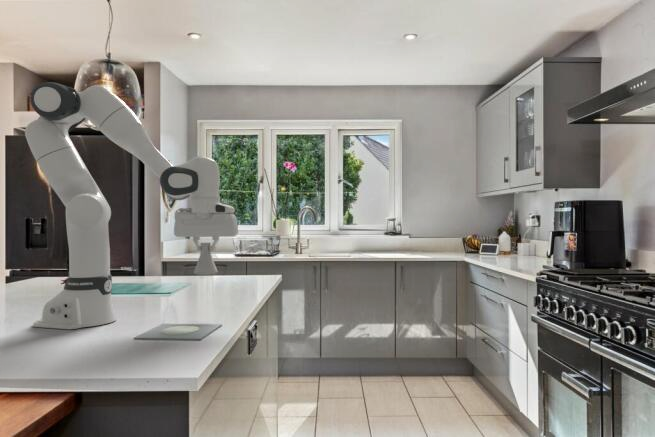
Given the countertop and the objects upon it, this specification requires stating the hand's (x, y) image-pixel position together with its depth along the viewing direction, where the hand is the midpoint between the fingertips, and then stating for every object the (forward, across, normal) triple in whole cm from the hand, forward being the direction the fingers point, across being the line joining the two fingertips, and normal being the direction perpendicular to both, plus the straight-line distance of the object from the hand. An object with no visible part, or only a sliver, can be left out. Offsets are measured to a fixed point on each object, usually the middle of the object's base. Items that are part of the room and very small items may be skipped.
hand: (206, 251), depth 144 cm
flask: (+8, 0, 0) cm, 8 cm away
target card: (+21, 0, -20) cm, 29 cm away
